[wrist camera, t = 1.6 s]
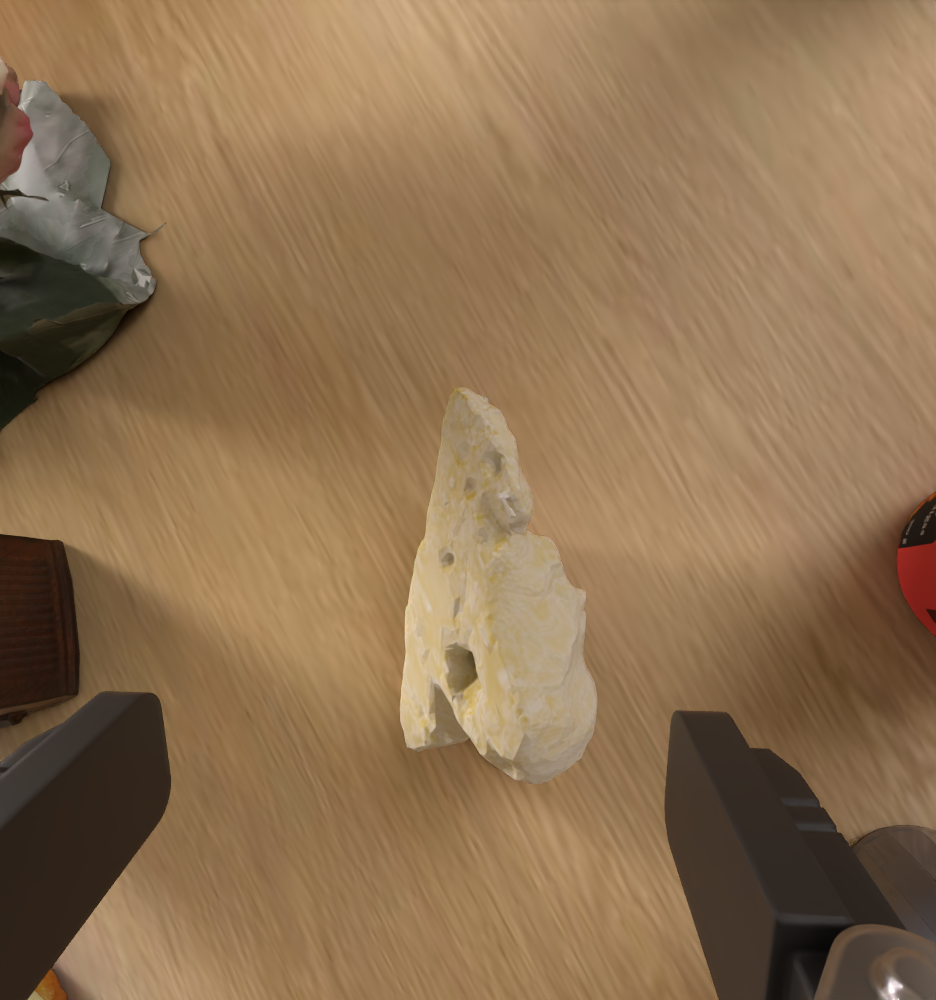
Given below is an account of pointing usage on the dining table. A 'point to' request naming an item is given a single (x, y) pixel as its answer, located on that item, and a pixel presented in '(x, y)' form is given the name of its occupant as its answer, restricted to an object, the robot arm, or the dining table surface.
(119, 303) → the rose bouquet
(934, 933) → the tumbler
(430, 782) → the dining table surface
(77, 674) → the manual coffee grinder
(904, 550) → the canned food
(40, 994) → the decorated donut
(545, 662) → the cream rock
